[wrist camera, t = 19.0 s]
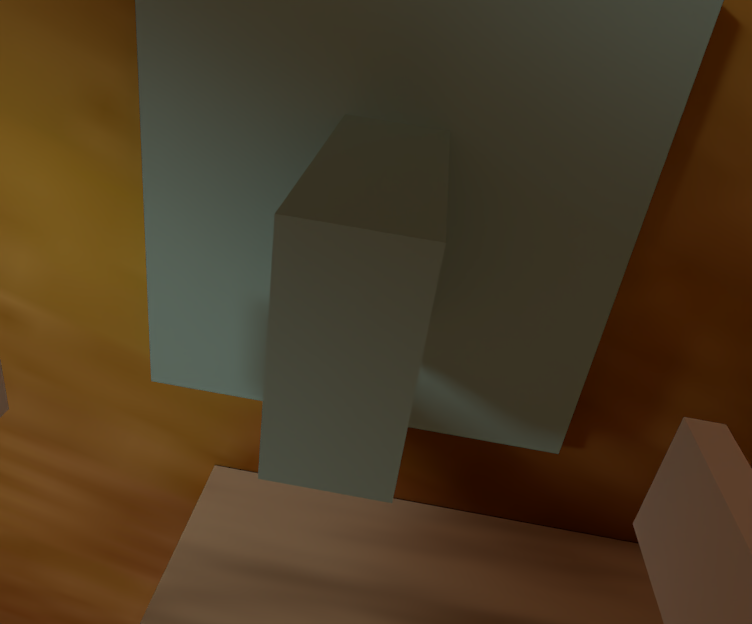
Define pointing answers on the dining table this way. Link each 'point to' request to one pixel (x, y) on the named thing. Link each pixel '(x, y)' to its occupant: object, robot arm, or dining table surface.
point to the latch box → (386, 564)
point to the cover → (399, 210)
